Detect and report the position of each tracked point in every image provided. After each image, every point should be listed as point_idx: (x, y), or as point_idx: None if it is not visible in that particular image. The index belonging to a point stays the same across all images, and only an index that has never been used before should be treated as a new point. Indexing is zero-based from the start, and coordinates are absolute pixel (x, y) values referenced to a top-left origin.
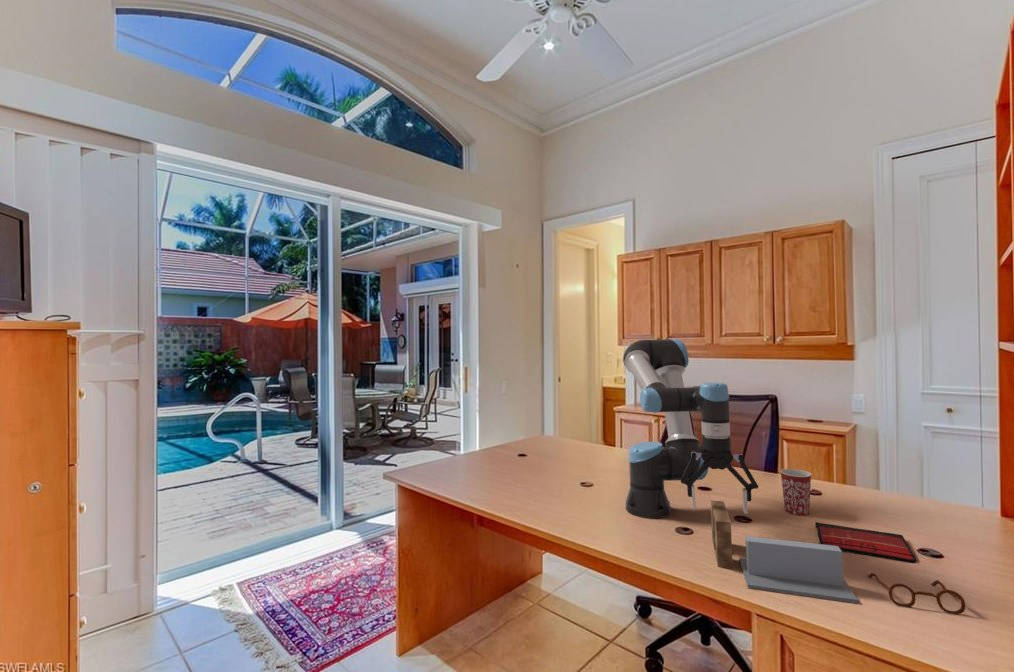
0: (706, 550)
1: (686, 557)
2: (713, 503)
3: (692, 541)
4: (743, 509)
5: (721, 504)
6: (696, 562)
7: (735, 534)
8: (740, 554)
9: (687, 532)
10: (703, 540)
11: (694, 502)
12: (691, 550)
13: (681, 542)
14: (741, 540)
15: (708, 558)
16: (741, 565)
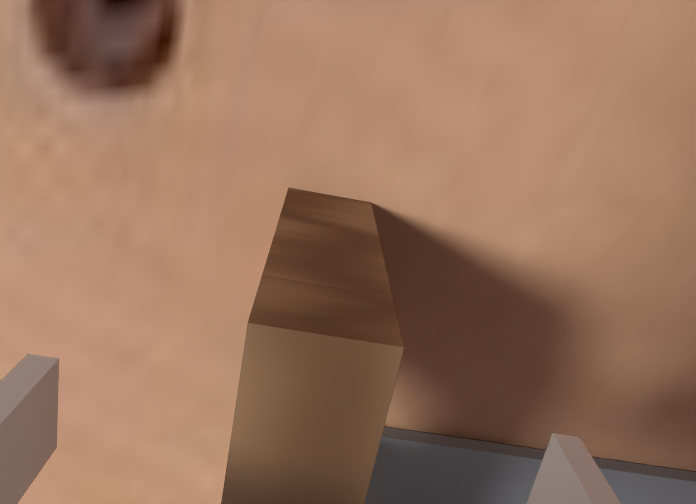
0: (218, 327)
1: (90, 417)
2: (255, 419)
3: (149, 209)
4: (554, 452)
5: (341, 443)
6: (138, 461)
7: (495, 55)
8: (405, 355)
9: (129, 49)
10: (228, 186)
11: (8, 502)
12: (127, 336)
13: (72, 232)
14: (494, 161)
15: (210, 416)
16: None
